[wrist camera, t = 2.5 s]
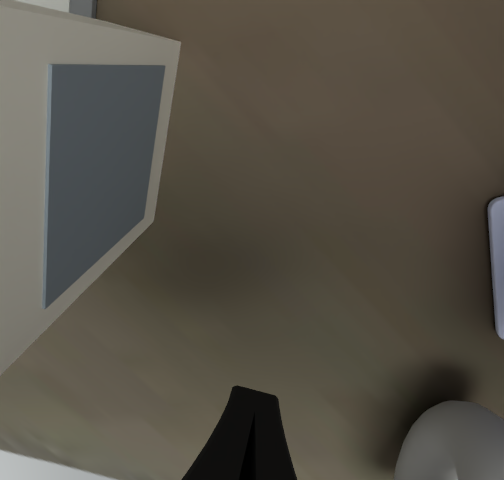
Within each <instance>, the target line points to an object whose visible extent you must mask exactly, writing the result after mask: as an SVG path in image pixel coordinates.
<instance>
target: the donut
mask: <svg viewBox="0 0 504 480" xmlns="http://www.w3.org/2000/svg"><path fill="white" fill-rule="evenodd" d="M394 480H504V419H502V418H501V417H499V416H498V415H496V414H494V413H493V412H491V411H490V410H488V409H487V408H485V407H483V406H481V405H479V404H477V403H472V402H465V401H453V400H450V401H445V402H442V403H440V404H438V405H435V406H433V407H431V408H429V409H428V410H426V411H425V412H424V413H423V414H422V415H421V416H420V417H419V418H418V419H417V420H416V421H415V422H414V424H413V425H412V427H411V428H410V430H409V432H408V434H407V436H406V438H405V440H404V442H403V445H402V448H401V451H400V454H399V457H398V460H397V463H396V469H395V475H394Z"/></svg>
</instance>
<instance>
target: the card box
mask: <svg viewBox="0 0 504 480" xmlns="http://www.w3.org/2000/svg"><path fill="white" fill-rule="evenodd" d="M180 46H181V42H180V41H176V40H172V39H169V38H165V37H162V36H158V35H154V34H151V33H147V32H143V31H140V30H136V29H132V28H129V27H125V26H122V25H118V24H114V23H111V22H107V21H103V20H98V19H94V18H90V17H85V16H81V15H76V14H72V13H68V12H63V11H59V10H54V9H50V8H46V7H41V6H37V5H32V4H28V3H24V2H19V1H15V0H0V375H1V374H2V373H3V372H4V371H5V370H6V369H7V368H8V367H9V366H10V365H11V364H12V363H13V362H14V361H15V360H16V359H17V358H18V357H19V356H20V355H21V354H22V353H23V352H24V351H25V350H26V349H27V348H28V347H29V346H30V345H31V344H32V343H33V342H34V341H35V340H36V339H37V338H38V337H39V336H40V335H41V334H42V333H43V332H44V331H45V330H46V329H47V328H48V327H49V326H50V325H51V324H52V323H53V322H54V321H55V320H56V319H57V318H58V317H59V316H60V315H61V314H62V313H63V312H64V311H65V310H66V309H67V308H68V307H69V306H70V305H71V304H72V303H73V302H74V301H75V300H76V299H77V298H78V297H79V296H80V295H81V294H82V293H83V292H84V291H85V290H86V289H87V288H88V287H89V286H90V285H91V284H92V283H93V282H94V281H95V280H96V279H97V278H98V277H99V276H100V275H101V274H102V273H103V272H104V271H105V270H106V269H107V268H108V267H109V266H110V265H111V264H112V263H113V262H114V261H115V260H116V259H117V258H118V257H119V256H120V255H121V254H122V253H123V252H124V251H125V250H126V249H127V248H128V247H129V246H130V245H131V244H132V243H133V242H134V241H135V240H136V239H137V238H138V237H139V236H140V235H141V234H142V233H143V232H144V231H145V230H146V229H147V228H148V227H149V226H150V225H151V224H152V223H153V222H154V216H155V210H156V203H157V197H158V190H159V184H160V177H161V171H162V164H163V158H164V151H165V144H166V138H167V131H168V125H169V118H170V112H171V105H172V99H173V92H174V86H175V79H176V73H177V66H178V59H179V53H180Z"/></svg>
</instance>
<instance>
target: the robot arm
mask: <svg viewBox="0 0 504 480" xmlns="http://www.w3.org/2000/svg"><path fill="white" fill-rule="evenodd" d="M488 224H489V239H490V254H491V268H492V283H493V298H494V313H495V328H496V333H497V334H498V336H499V337H500V338H501V339H504V196H502V197H498V198H495V199H493V200H492V201H491V202H490V203H489V205H488ZM182 480H297V477H296V474H295V471H294V468H293V464H292V461H291V457H290V454H289V450H288V446H287V442H286V438H285V434H284V430H283V425H282V420H281V415H280V409H279V401H278V398H277V397H276V396H275V395H271V394H267V393H264V392H260V391H256V390H252V389H249V388H245V387H241V386H234V387H232V391H231V394H230V398H229V401H228V403H227V406H226V408H225V410H224V412H223V414H222V416H221V418H220V420H219V422H218V424H217V426H216V427H215V429H214V431H213V433H212V434H211V436H210V438H209V440H208V441H207V443H206V445H205V446H204V448H203V449H202V451H201V452H200V454H199V455H198V457H197V458H196V460H195V461H194V463H193V464H192V466H191V467H190V469H189V470H188V471H187V473H186V474H185V476H184V477H183V478H182Z"/></svg>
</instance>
